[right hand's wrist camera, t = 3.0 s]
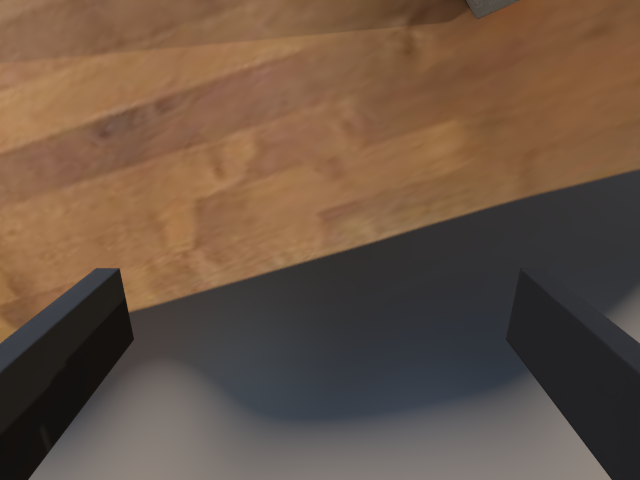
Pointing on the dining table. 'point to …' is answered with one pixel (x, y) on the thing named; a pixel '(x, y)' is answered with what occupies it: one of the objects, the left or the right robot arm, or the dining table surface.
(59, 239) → the dining table surface
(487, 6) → the hard drive box
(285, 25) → the dining table surface
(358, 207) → the dining table surface
